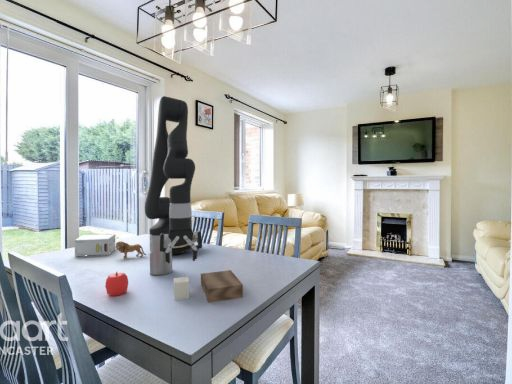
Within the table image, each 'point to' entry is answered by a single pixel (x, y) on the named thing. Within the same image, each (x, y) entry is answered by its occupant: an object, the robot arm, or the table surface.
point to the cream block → (181, 288)
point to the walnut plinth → (221, 286)
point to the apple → (116, 284)
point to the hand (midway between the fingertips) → (181, 261)
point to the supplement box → (94, 245)
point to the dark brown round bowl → (183, 246)
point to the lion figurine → (129, 248)
